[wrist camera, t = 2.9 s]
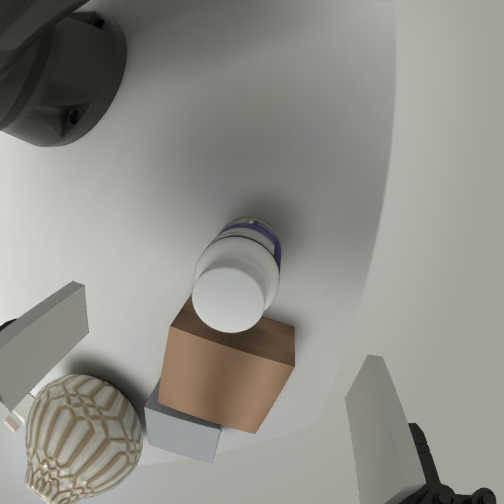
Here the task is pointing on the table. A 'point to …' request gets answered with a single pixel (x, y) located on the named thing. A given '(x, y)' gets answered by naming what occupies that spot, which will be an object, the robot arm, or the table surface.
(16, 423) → the pepper shaker
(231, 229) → the pill bottle
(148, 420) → the slate block
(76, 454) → the vase
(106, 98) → the robot arm
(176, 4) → the table surface
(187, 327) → the walnut block
